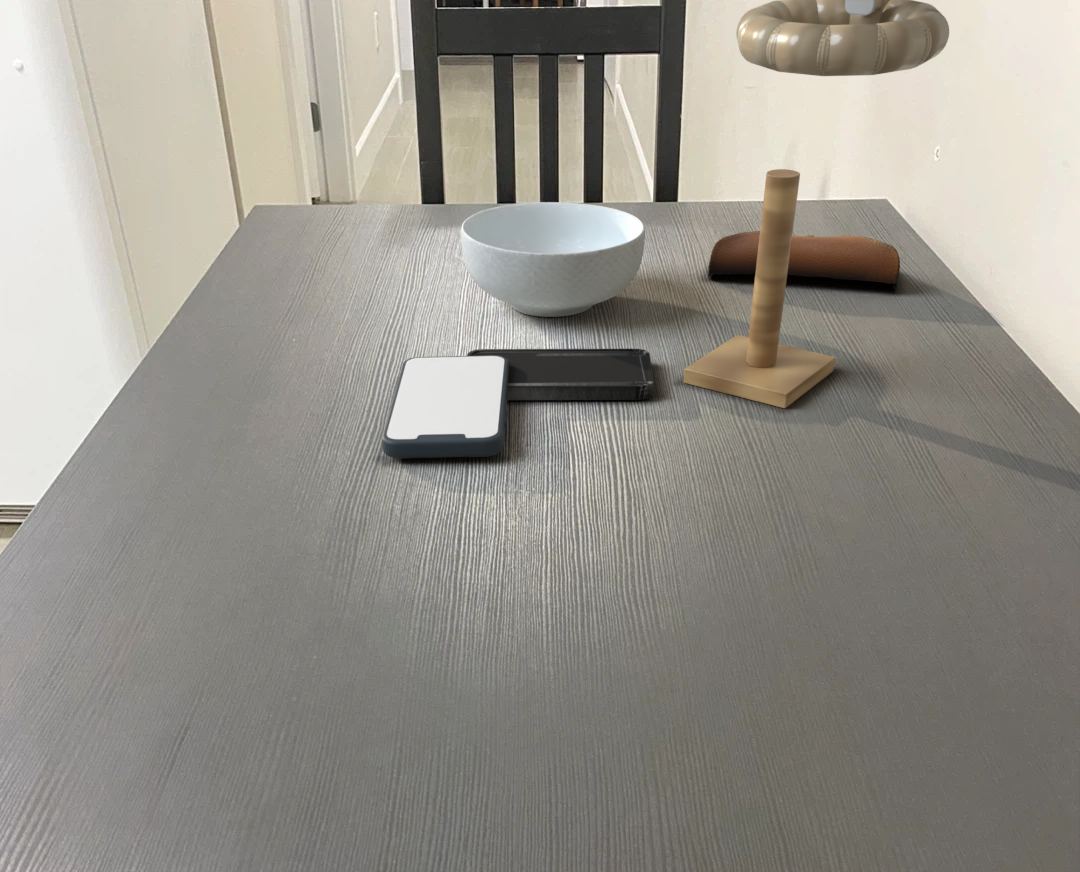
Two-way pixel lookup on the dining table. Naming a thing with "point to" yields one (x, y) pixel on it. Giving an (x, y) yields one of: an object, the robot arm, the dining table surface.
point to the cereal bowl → (552, 255)
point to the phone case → (448, 408)
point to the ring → (841, 37)
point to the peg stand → (766, 318)
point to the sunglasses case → (813, 257)
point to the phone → (576, 373)
